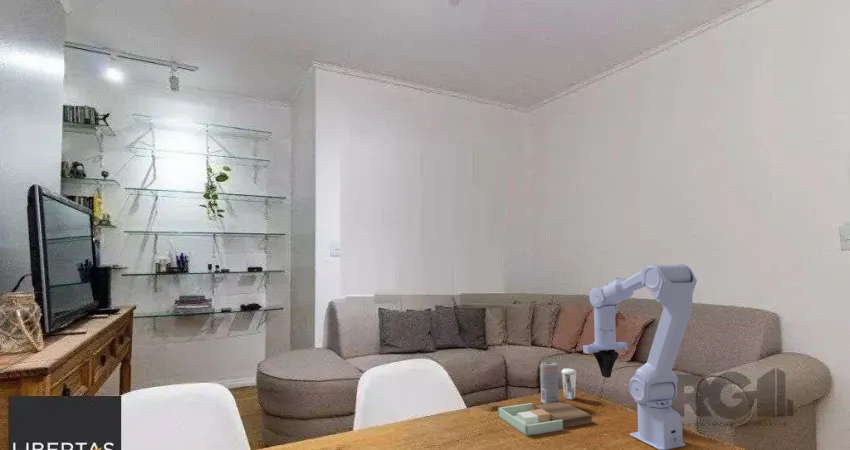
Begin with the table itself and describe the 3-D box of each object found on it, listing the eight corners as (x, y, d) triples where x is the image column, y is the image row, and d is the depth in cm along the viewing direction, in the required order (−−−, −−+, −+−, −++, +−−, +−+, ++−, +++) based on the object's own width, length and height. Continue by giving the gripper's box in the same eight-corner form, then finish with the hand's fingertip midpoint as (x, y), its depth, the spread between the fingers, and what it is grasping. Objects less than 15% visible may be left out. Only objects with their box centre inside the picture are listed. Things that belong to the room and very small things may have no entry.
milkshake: (579, 396, 141) (578, 364, 141) (575, 401, 136) (574, 368, 137) (564, 393, 143) (564, 362, 144) (560, 398, 138) (559, 366, 139)
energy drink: (557, 400, 137) (556, 361, 138) (560, 406, 132) (560, 365, 132) (539, 399, 137) (539, 361, 138) (542, 405, 132) (542, 365, 133)
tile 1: (538, 423, 117) (538, 416, 117) (525, 425, 116) (525, 418, 116) (529, 418, 121) (529, 411, 121) (517, 420, 120) (517, 412, 120)
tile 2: (550, 421, 119) (550, 413, 119) (537, 423, 118) (537, 415, 118) (541, 416, 123) (541, 408, 123) (529, 417, 121) (529, 410, 121)
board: (591, 422, 119) (591, 415, 119) (561, 428, 115) (561, 420, 116) (563, 408, 130) (563, 401, 130) (534, 412, 127) (534, 405, 127)
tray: (562, 429, 114) (562, 420, 114) (526, 436, 110) (526, 426, 110) (531, 411, 127) (531, 402, 128) (497, 416, 123) (497, 407, 124)
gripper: (614, 325, 134) (615, 370, 133) (575, 328, 128) (576, 375, 128) (632, 329, 127) (633, 376, 126) (592, 332, 122) (593, 382, 121)
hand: (606, 376), depth 126 cm, fingers closed
